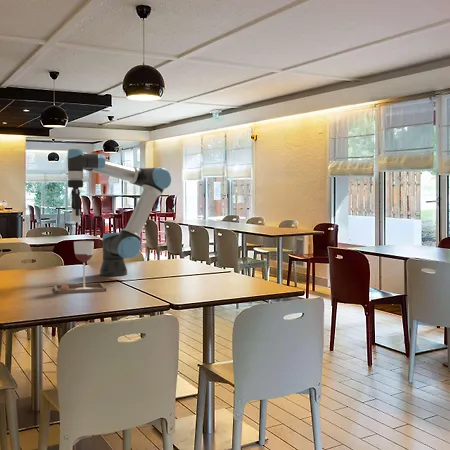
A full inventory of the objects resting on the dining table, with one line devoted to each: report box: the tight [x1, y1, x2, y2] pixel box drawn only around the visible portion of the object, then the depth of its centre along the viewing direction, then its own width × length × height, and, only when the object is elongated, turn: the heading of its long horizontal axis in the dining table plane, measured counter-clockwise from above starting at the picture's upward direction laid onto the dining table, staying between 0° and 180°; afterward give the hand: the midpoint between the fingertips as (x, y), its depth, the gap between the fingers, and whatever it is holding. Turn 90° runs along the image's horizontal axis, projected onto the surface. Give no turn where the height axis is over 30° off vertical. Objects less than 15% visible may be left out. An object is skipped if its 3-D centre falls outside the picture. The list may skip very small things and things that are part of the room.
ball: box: [61, 283, 69, 290], centre depth 259 cm, size 4×4×4 cm
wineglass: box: [73, 240, 95, 289], centre depth 267 cm, size 9×10×22 cm
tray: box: [53, 282, 107, 295], centre depth 265 cm, size 22×16×2 cm
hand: (75, 221), depth 291 cm, fingers open, 13 cm apart
